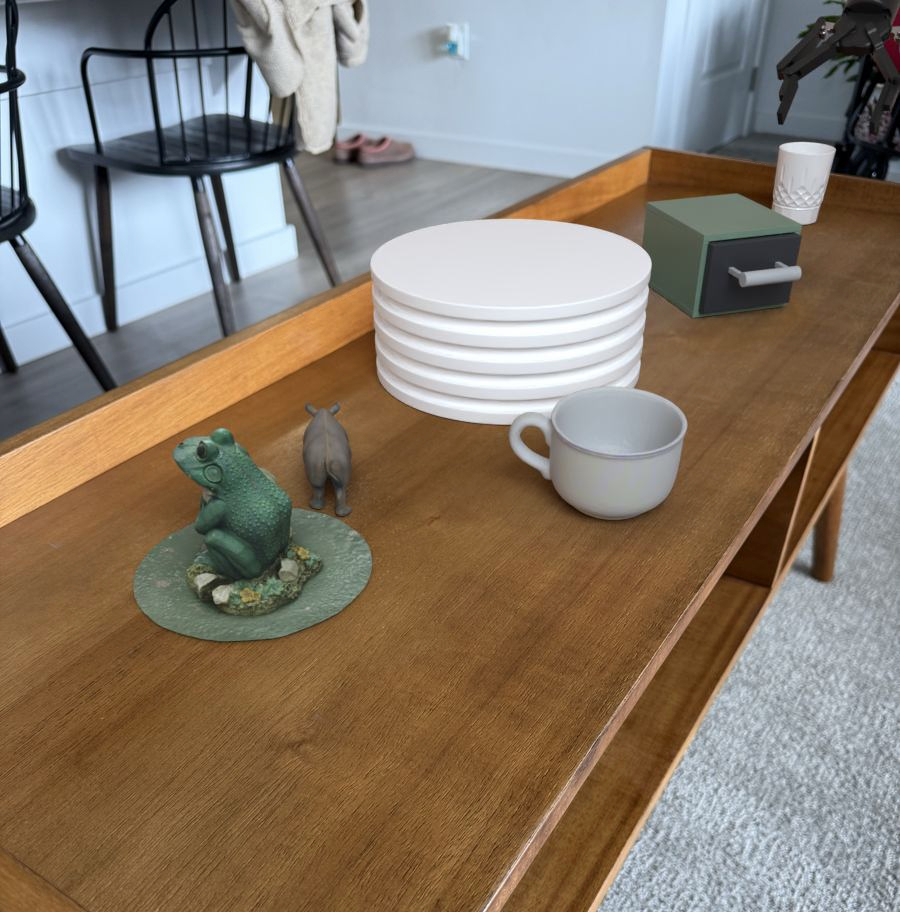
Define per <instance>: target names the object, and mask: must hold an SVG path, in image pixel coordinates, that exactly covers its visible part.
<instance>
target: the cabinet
mask: <svg viewBox="0 0 900 912" xmlns="http://www.w3.org/2000/svg"><path fill="white" fill-rule="evenodd" d="M802 228H803V225H802V224H800V223H798V222H796V221H794V220H792V219H790V218H788V217H785V216H783V215H781V214H779V213H777V212H775V211H773V210H772V208H771V209H770V207H769V208H768V207H766V206H765V205H762V204H760V203H758V202H757V201H754V200H752V199H750V198H748V197H746V196H744V195H742V194H740V193H727V194H716V195H715V194H714V195H706V196H705V195H704V196H696V197H684V198H675V199H665V200H664V199H663V200H655V201H647V202H646V206H645V216H644V226H643V235H642V245H641V247H642V248H643V249H644V250H645V251H646V252H647V253H648V255H649V257H650V259H651V262H652V267H651V276H650V281H649V283H648V287H649V289H651V290H653V291H654V292H655V293H657V294H658V295H660V296H661V297H662V298H664V299H665V300H666V301H668V302H670V303H671V304H672V305H674V306H675V307H676V308H678V309H679V310H680V311H682V312H684V314H686V315H687V316H689V317H691V318H692V319H695V318H696V319H697V318H703V317H705V318H706V317H712V316H721V315H726V314H728V315H729V314H735V313H743V312H749V311H750V312H751V311H759V310H766V309H773V308H774V309H775V308H782V307H787V303H782V304H774V305H766V306H759V307H751V308H743V309H735V310H728V311H720V312H712V313H704V314H703V313H702V312H700V311H699V303H700V296H701V289H702V283H703V276H704V269H705V262H706V255H707V248H708V243H709V242H710V241H719V240H728V239H737V238H746V237H755V236H764V235H773V234H782V233H784V235H785V234H794V233H797V234H799V235H801V232H802Z"/></svg>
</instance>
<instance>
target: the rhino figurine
mask: <svg viewBox="0 0 900 912" xmlns="http://www.w3.org/2000/svg"><path fill="white" fill-rule="evenodd" d="M340 405H341V404H340V402H335V403H334V404H332V406H331V407H330V408H329V409H327V408H324V407H322V408H319V409H316V408H315V407H314V406H313V405H312V404H310V403H309V402H306V403H305V405H304V406H305V407H304V410H305V411H306V413H308V414H309V415H311V416H312V419H311V420H310V421H309V423H308V425H307V426H306V427H305V430H304V433H303V437H302V452H301V453H302V454H301V455H302V460H303V463H304V471H305V474H306V478H307V479H308V482H309V483H310V485H311V487H312V498H311V499H310V500H309V502H308V506H309V507H310V508H312V509H314V510H321V509H324V508H325V506H326V498H325V497H324V496H325V490H326V489H325V488H326V482H327V480H328V478H329V479H330V482H331V484H332V486H333V489H334V500H335V507H334V512H335V515H336V516H337V517H345V516H348V515H349V514H351V513H352V512H353V509H352V507H351V506H350V505H348V504H347V501H348V500H347V499H348V498H347V495H348V494H347V493H348V486H349V482H350V480H351V476H352V472H353V471H352V470H353V465H352V457H353V452H352V448H351V445H350V439H349V436H348V433H347V430H346V428H345V427H344V426H343V424H341V423H340V422H339V421H338V420H337V418H336V417H334V416H335V415H336V414H337V413H338V412H340V410H341V406H340Z"/></svg>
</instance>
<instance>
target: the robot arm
mask: <svg viewBox="0 0 900 912" xmlns="http://www.w3.org/2000/svg"><path fill="white" fill-rule="evenodd" d="M899 9H900V0H846V2H845V4H844V8H843V10H842V13H841V16H840V17H839V19H838V20H837V21H836V22H830V21H826V17H825V16H819V17H818V18H817V19H816V21H815V23H814V25H813V26H812V29H811V30H810V31H809V32H807V33H806V35H805V36H804V37H803V38H801V40H800V41H799V42H797V44H796V45H794V47H793V48H792V49H791V50H790V51H789V52H787V54H786V55H784V57H783V58H782V59H781V60H779V62H777V64H776V66H775V69H776V76H777V80H779V81H782V83H781V86H780V88H779V90H778V99H779V102H780V104H779V106H778V109H777V111H776V117H777V124H778V126H779V125H780V126H784V124H785V121H786V119H787V117H788V114H789V112H790V109H791V106H792V104H793V102H794V99H795V97H796V94H797V92H798V89H799V81H801V80H802V79H803V78H804V77H806V76H807V75H810V73H812V72H813V71H815V70H816V69H818V68H819V67H820V66H822V65H824V64H825V63H826V62H828V61H829V60H834V59H836V58H837V57H839V56H840V55H842V54H843V56H845V57H851V56H856V57H859V58H866V56H868V55H870V57H871V58H872V60H873V62H874V63H876V65H877V67H878V69H879V72H880V73H881V75H882V77H883V79H884V84H883V86H882V88H881V91H880V93H879V95H878V99H877V101H876V104H875V105H874V106H875V107H874V108H873V111H872V114H871V116H870V118H869V121H868V130H869V131H868V134H869V135H875V134H876V132H877V130H878V127H879V124H880V123H881V119H882V117H883V114H884V112H891V111H892V109H893V108H894V105H895V103H896V100H897V98H898V96H899V93H900V73H899V71H898V69H897V67H896V65H895V64H894V62H893V60H892V58H891V56H890V54H889V53H888V50H887V48H886V47H885V45H884V44H885V43H886V42H887V41H889V40H890V39H891V38H893V39H894V42H895V43H896V45H898V46H899V47H898V49H899V52H900V25H895V26H893V24H894V21H895V19H896V16H897V15H898V12H899ZM830 34H831V35H830ZM828 35H830V36H828ZM827 37H828V38H827ZM822 40H823V41H824V40H825V41H824V43H822V44H821V45H820V43H821V42H822Z"/></svg>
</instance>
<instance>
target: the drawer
mask: <svg viewBox="0 0 900 912" xmlns="http://www.w3.org/2000/svg"><path fill="white" fill-rule="evenodd" d="M802 238H803V236H802V235H801V234H800V235H799V234H797V233H794V234H785V235H784V233H782V234H773V235H764V236H755V237H746V238H737V239H728V240H719V241H710V242H709V243H708V248H707V255H706V262H705V269H704V276H703V283H702V289H701V296H700V303H699V311H700V312H702V313H703V314H704V313H712V312H720V311H728V310H735V309H743V308H751V307H759V306H766V305H774V304H782V303H786V304H788V303H789V302H790V298H791V293H792V289H793V282H797V281H799V280H801V278H802V275H803V274H802V268H801V266H799V265H797V262H798V259H799V253H800V248H801V243H802Z"/></svg>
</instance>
